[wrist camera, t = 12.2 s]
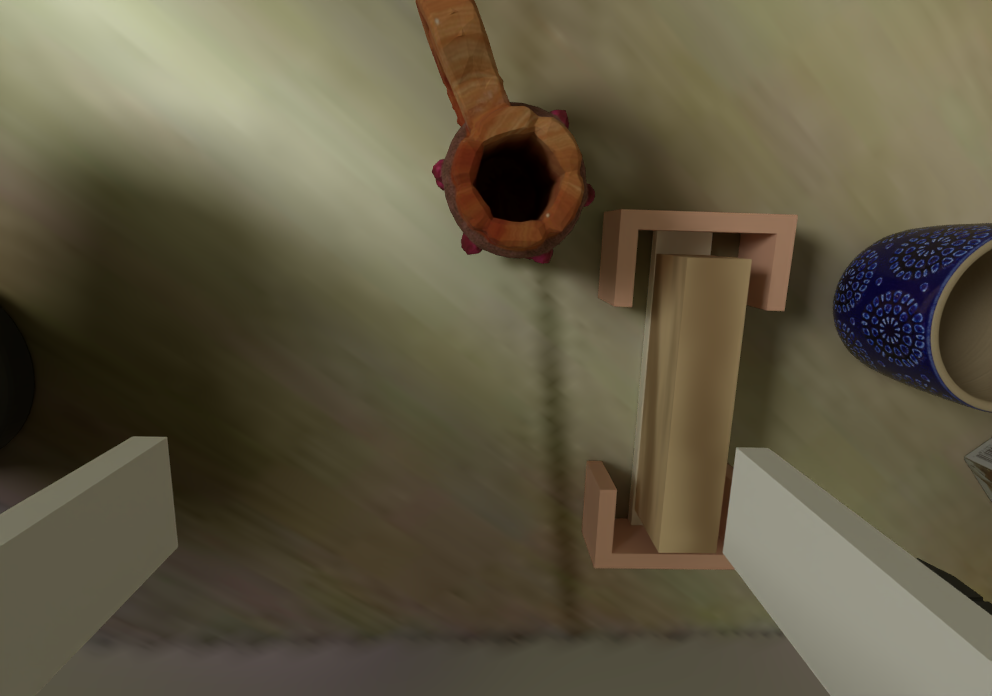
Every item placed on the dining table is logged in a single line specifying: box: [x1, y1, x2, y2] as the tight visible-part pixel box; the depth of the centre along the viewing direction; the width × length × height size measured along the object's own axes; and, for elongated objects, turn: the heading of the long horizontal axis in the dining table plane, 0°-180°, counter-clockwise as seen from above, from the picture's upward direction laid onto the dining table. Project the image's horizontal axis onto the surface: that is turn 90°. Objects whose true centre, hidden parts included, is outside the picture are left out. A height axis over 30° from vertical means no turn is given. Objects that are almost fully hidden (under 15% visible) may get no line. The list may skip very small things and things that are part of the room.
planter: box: [833, 223, 992, 413], centre depth 36 cm, size 11×11×11 cm
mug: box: [416, 0, 595, 264], centre depth 31 cm, size 15×8×15 cm, turn 23°
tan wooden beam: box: [635, 254, 752, 553], centre depth 38 cm, size 4×20×6 cm, turn 178°
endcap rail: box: [582, 209, 798, 570], centre depth 40 cm, size 11×25×5 cm, turn 178°
